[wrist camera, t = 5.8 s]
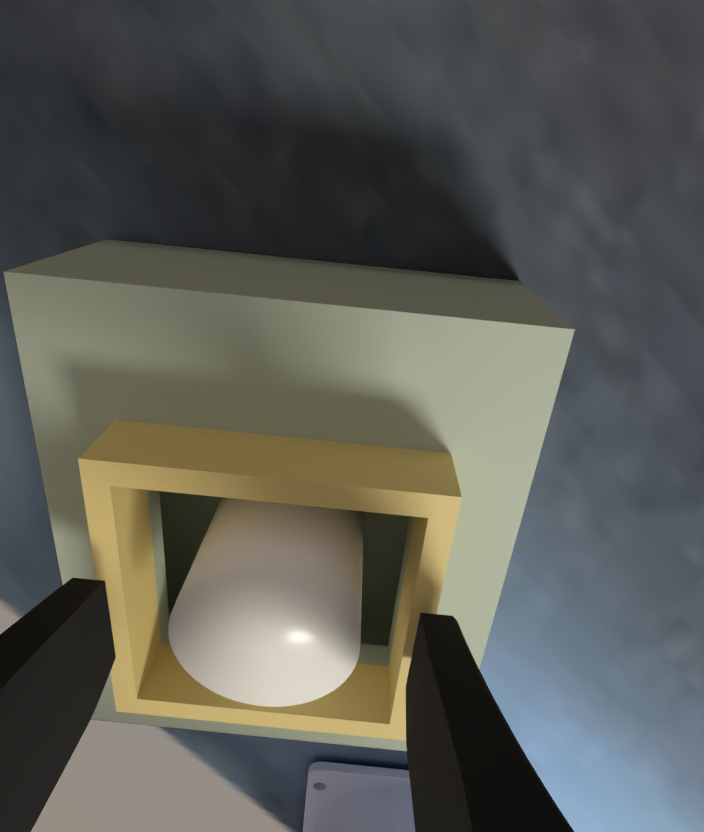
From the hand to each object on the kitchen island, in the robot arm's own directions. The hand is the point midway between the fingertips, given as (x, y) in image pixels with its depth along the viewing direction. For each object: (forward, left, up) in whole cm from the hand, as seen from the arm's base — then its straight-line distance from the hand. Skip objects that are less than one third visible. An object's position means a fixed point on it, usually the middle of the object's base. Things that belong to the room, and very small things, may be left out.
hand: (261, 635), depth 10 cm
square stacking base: (0, 0, -6) cm, 6 cm away
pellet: (0, 0, -5) cm, 5 cm away
